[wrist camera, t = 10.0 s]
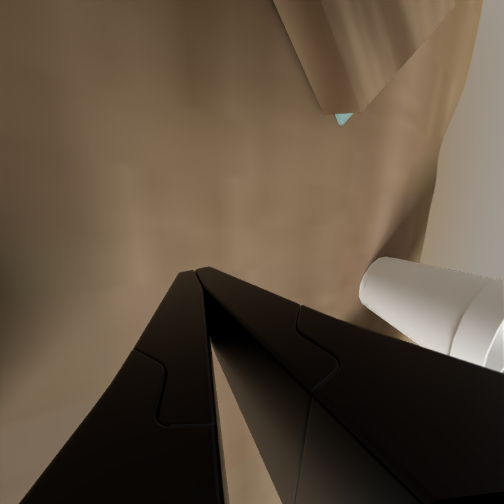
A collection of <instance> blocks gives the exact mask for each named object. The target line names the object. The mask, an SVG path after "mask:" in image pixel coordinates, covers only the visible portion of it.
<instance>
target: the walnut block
mask: <svg viewBox="0 0 504 504" xmlns="http://www.w3.org/2000/svg"><path fill="white" fill-rule="evenodd" d="M273 2H274V4H275V6H276V8H277V11H278V13H279V15H280V17H281V20H282V22H283V24H284V26H285V28H286V31H287V33H288V35H289V37H290V40H291V42H292V44H293V46H294V49H295V51H296V53H297V55H298V58H299V60H300V62H301V64H302V67H303V69H304V71H305V73H306V76H307V78H308V80H309V82H310V84H311V87H312V89H313V91H314V93H315V96H316V98H317V100H318V102H319V105H320V107H321V109H322V111H323V114H324V115H328V114H346V113H361V112H362V111H363V110H364V109H365V108H366V107H367V106H368V104H369V103H370V102H371V101H372V100H373V99H374V98H375V97H376V95H377V94H378V93H379V92H380V91H381V90H382V89H383V87H384V86H385V85H386V84H387V83H388V82H389V81H390V80H391V78H392V77H393V76H394V75H395V74H396V73H397V72H398V71H399V69H400V68H401V67H402V66H403V65H404V64H405V63H406V61H407V60H408V59H409V58H410V57H411V56H412V55H413V54H414V52H415V51H416V50H417V49H418V48H419V47H420V46H421V45H422V43H423V42H424V41H425V40H426V39H427V38H428V37H429V36H430V34H431V33H432V32H433V31H434V30H435V29H436V28H437V26H438V25H439V24H440V23H441V22H442V21H443V20H444V19H445V17H446V16H447V15H448V14H449V13H450V12H451V11H452V10H453V8H454V7H455V0H273Z"/></svg>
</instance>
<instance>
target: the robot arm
mask: <svg viewBox="0 0 504 504" xmlns="http://www.w3.org/2000/svg"><path fill="white" fill-rule="evenodd" d="M210 341H211V342H210ZM211 344H212V347H213V349H214V352H215V354H216V356H217V358H218V361H219V363H220V365H221V367H222V370H223V372H224V374H225V376H226V379H227V381H228V383H229V385H230V388H231V390H232V392H233V394H234V396H235V399H236V401H237V403H238V405H239V408H240V410H241V412H242V414H243V417H244V419H245V421H246V423H247V426H248V428H249V430H250V432H251V434H252V437H253V439H254V441H255V443H256V446H257V448H258V450H259V452H260V455H261V457H262V459H263V461H264V464H265V466H266V468H267V470H268V472H269V475H270V477H271V479H272V481H273V484H274V486H275V488H276V490H277V493H278V495H279V497H280V499H281V502H282V504H504V373H501V372H498V371H495V370H492V369H489V368H486V367H483V366H480V365H477V364H474V363H471V362H468V361H464V360H461V359H458V358H455V357H452V356H449V355H446V354H443V353H440V352H437V351H434V350H431V349H427V348H424V347H421V346H418V345H415V344H412V343H409V342H406V341H403V340H400V339H397V338H393V337H390V336H387V335H384V334H381V333H378V332H375V331H372V330H369V329H366V328H363V327H360V326H357V325H354V324H351V323H348V322H345V321H342V320H339V319H336V318H334V317H331V316H329V315H326V314H324V313H321V312H319V311H316V310H314V309H311V308H309V307H306V306H304V305H301V306H300V304H298V303H295V302H293V301H291V300H288V299H286V298H283V297H281V296H279V295H276V294H274V293H272V292H269V291H267V290H264V289H262V288H260V287H257V286H255V285H252V284H250V283H248V282H245V281H243V280H241V279H238V278H236V277H233V276H231V275H229V274H226V273H224V272H222V271H219V270H217V269H214V268H212V267H204V268H199V269H196V270H195V271H193V270H190V271H185V272H180V273H179V274H178V275H177V277H176V278H175V280H174V282H173V283H172V285H171V287H170V288H169V290H168V292H167V293H166V295H165V297H164V298H163V300H162V302H161V303H160V305H159V307H158V308H157V310H156V312H155V313H154V315H153V317H152V318H151V320H150V322H149V323H148V325H147V327H146V328H145V330H144V332H143V334H142V335H141V337H140V339H139V340H138V342H137V344H136V345H135V347H134V349H133V350H132V351H131V352H130V354H129V356H128V357H127V359H126V361H125V362H124V364H123V365H122V367H121V369H120V370H119V372H118V373H117V375H116V376H115V378H114V379H113V381H112V382H111V384H110V385H109V387H108V388H107V389H106V391H105V392H104V393H103V395H102V396H101V398H100V399H99V400H98V402H97V403H96V404H95V406H94V407H93V408H92V410H91V411H90V412H89V414H88V415H87V416H86V418H85V419H84V420H83V421H82V423H81V424H80V425H79V427H78V428H77V429H76V431H75V432H74V433H73V434H72V436H71V437H70V438H69V440H68V441H67V442H66V443H65V445H64V446H63V447H62V449H61V450H60V451H59V453H58V454H57V455H56V456H55V458H54V459H53V460H52V462H51V463H50V464H49V465H48V467H47V468H46V469H45V471H44V472H43V473H42V475H41V476H40V477H39V478H38V480H37V481H36V482H35V484H34V485H33V486H32V487H31V489H30V490H29V491H28V493H27V494H26V495H25V497H24V498H23V499H22V500H21V502H20V503H19V504H230V503H229V494H228V486H227V477H226V469H225V460H224V452H223V443H222V435H221V426H220V418H219V409H218V401H217V392H216V384H215V375H214V366H213V358H212V350H211Z"/></svg>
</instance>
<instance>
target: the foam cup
mask: <svg viewBox="0 0 504 504" xmlns="http://www.w3.org/2000/svg"><path fill="white" fill-rule="evenodd" d="M359 298H360V300H361V303H362V304H363V305H365V306H366V307H367V308H368V309H370V310H371V311H372V312H374V313H375V314H377V315H378V316H379V317H381V318H382V319H384V320H385V321H386V322H388V323H389V324H391V325H392V326H393V327H395V328H396V329H398V330H399V331H400V332H402V333H403V334H405V335H406V336H407V337H409V338H410V339H412V340H413V341H414V342H416V343H417V344H419V345H420V346H421V347H424V348H427V349H431V350H434V351H437V352H440V353H443V354H446V355H449V356H452V357H455V358H458V359H461V360H464V361H468V362H471V363H474V364H477V365H480V366H483V367H486V368H489V369H492V370H495V371H498V372H501V373H502V372H503V370H504V279H502V278H498V279H492V278H488V277H483V276H478V275H473V274H468V273H464V272H459V271H454V270H449V269H444V268H440V267H435V266H430V265H425V264H421V263H416V262H411V261H406V260H402V259H397V258H392V257H391V258H389V257H387V256H386V257H380V258H378V259H377V260H376V261H374V262H373V263H372V264H371V265H370V266H369V268H368V269H367V271H366V272H365V274H364V276H363V278H362V281H361V284H360V289H359Z"/></svg>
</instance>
